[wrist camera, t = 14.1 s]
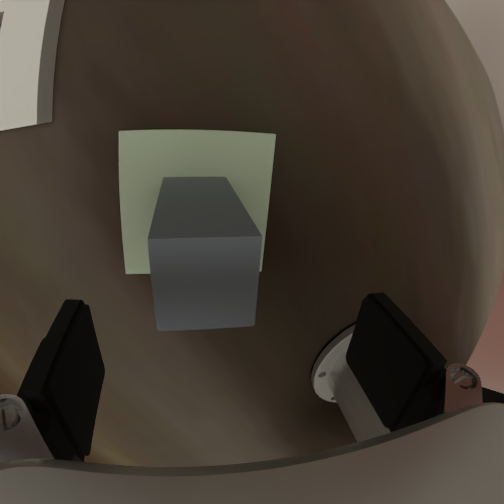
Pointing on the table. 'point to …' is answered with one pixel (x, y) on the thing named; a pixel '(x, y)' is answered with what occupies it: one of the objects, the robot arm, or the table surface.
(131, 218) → the sage mat
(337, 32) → the table surface
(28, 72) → the white square hole board
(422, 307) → the table surface
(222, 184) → the slate plug
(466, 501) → the robot arm
